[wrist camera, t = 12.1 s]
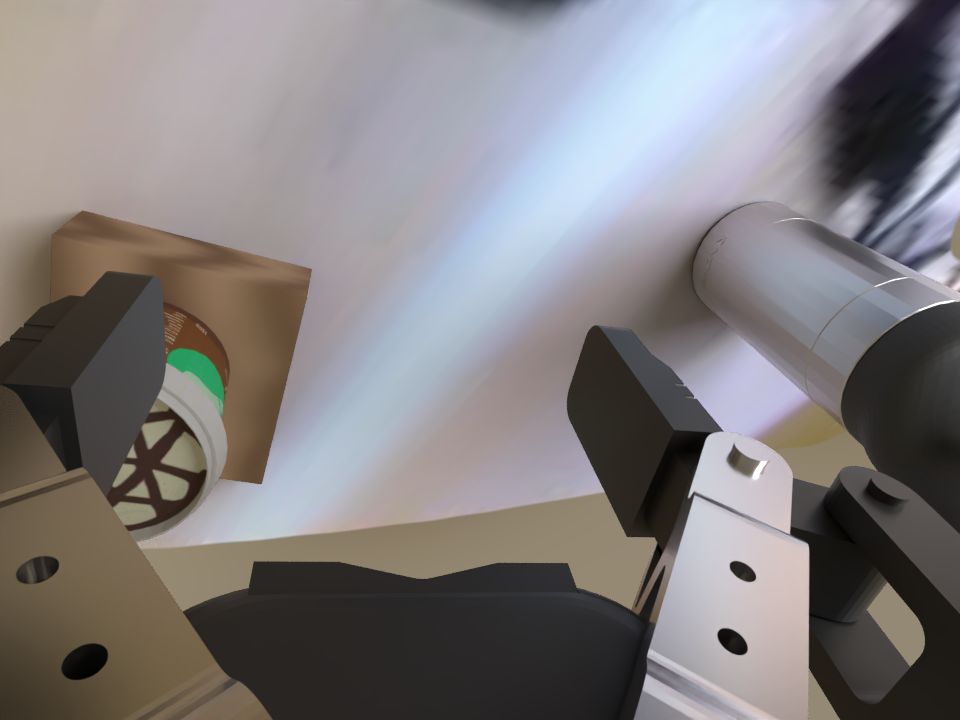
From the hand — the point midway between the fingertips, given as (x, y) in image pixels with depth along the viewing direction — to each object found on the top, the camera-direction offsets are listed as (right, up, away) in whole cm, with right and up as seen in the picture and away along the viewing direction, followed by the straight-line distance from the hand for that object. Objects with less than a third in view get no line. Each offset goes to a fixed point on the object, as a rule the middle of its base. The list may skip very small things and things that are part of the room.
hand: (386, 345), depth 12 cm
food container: (-17, -1, +28) cm, 33 cm away
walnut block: (-19, +1, +32) cm, 37 cm away
